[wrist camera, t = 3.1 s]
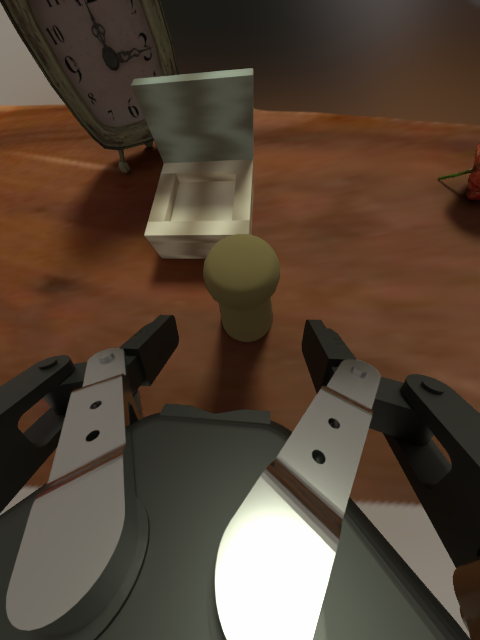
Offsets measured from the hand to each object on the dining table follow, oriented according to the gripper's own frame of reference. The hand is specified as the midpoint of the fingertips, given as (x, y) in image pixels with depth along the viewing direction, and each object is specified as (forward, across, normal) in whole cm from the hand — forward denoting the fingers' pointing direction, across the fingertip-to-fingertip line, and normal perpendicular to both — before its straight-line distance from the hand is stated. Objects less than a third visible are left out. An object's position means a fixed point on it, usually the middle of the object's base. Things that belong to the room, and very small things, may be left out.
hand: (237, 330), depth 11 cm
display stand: (+19, +6, -6) cm, 21 cm away
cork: (+10, 0, +4) cm, 10 cm away
